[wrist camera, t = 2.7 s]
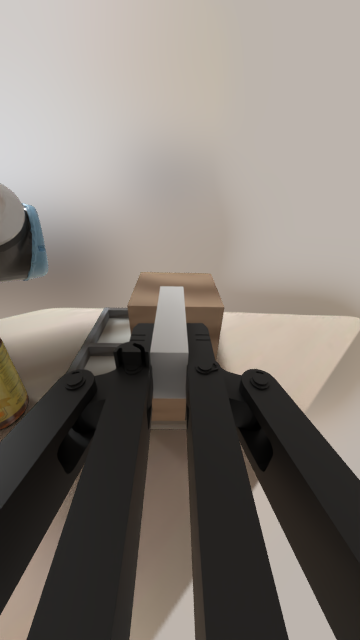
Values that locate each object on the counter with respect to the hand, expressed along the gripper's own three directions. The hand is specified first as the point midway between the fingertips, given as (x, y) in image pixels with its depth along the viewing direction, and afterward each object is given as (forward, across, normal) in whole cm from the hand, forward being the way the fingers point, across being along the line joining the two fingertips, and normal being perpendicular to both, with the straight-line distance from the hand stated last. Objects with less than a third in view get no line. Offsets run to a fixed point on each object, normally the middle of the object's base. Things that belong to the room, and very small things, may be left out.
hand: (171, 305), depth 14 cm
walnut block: (+7, 0, -18) cm, 19 cm away
